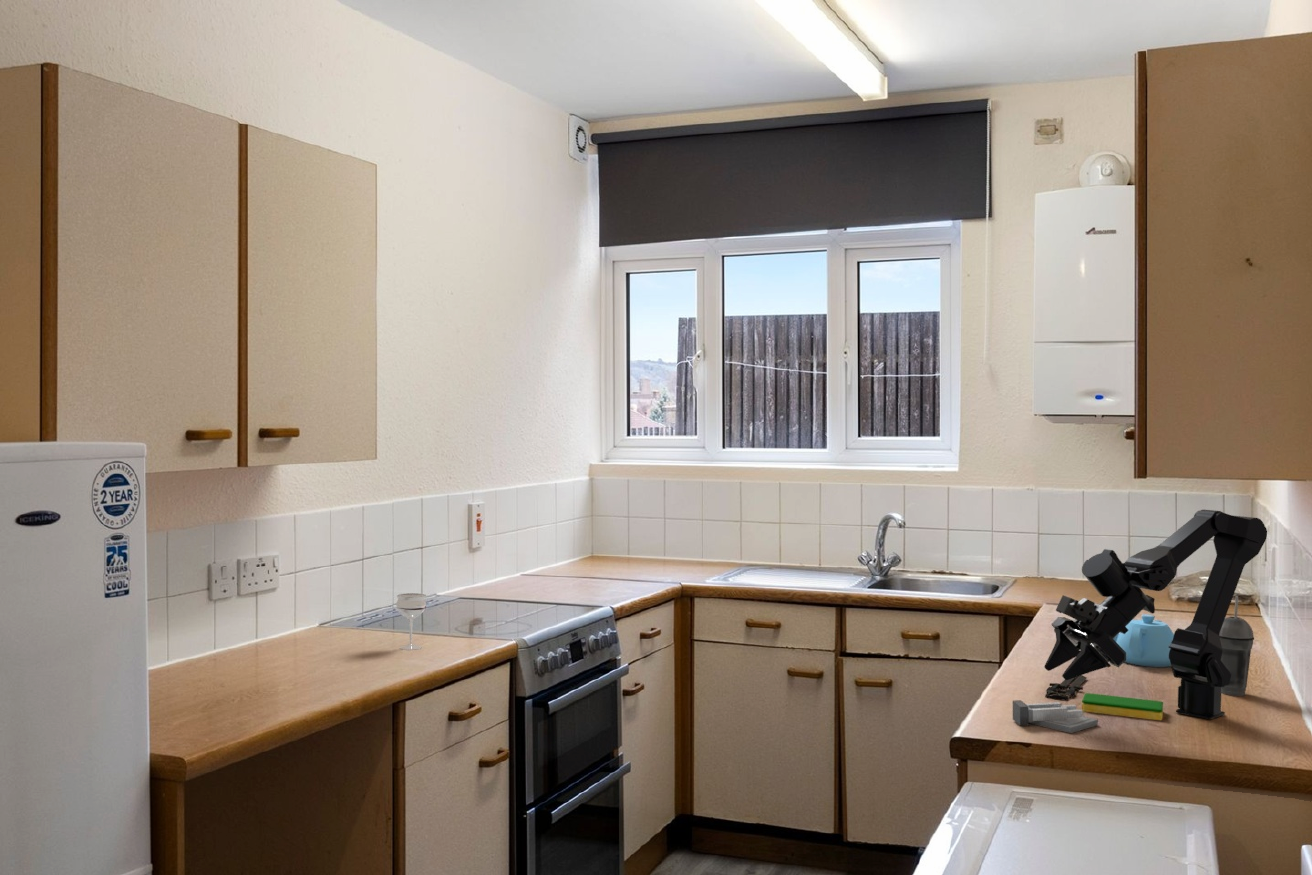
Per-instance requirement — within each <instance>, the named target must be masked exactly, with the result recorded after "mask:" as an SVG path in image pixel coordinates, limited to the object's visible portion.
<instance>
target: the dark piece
mask: <svg viewBox="0 0 1312 875" xmlns="http://www.w3.org/2000/svg"><path fill="white" fill-rule="evenodd" d="M1086 679H1087V677H1086V676H1084V674H1083V675H1080V676H1078V677H1075V678H1072V679H1069V680H1065V679H1064V678H1063V680H1062V681H1061V682H1060V683H1057V682H1050V683H1049V686H1048V687H1047V689H1046V690H1045V692H1046V694H1045V695H1044V696H1045V698H1046V699H1052V700H1060V701H1068V700H1069V695H1070V698H1071V699H1073V698H1074V697H1075V696H1076V693H1083V689H1084V687H1082V686H1081V685H1082V684H1083V683H1084V682H1085V681H1086ZM1067 687H1068V688H1067Z"/></svg>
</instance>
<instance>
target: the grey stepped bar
mask: <svg viewBox="0 0 1312 875" xmlns="http://www.w3.org/2000/svg"><path fill="white" fill-rule="evenodd" d="M1083 716H1084V711H1082V708H1081V709H1078V708H1077V705H1076V704H1062V702H1059V701H1057V702H1055V701H1054V702H1039V703H1038V702H1036V703H1035V702H1034V703H1026V702H1024V701H1022V700H1020V699H1017V700H1012V720H1013V721H1014V723H1016V724H1017V725H1018V726H1019V727H1026V726H1027V727H1028V726H1029V723H1028V722H1033V721H1045V720H1063V719H1068V718H1080V717H1083Z"/></svg>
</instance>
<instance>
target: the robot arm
mask: <svg viewBox="0 0 1312 875" xmlns="http://www.w3.org/2000/svg"><path fill="white" fill-rule="evenodd" d="M1267 537H1268V530H1267V527H1266V526H1265V523H1264V522H1263V520H1261V519H1260V518H1259V517H1251V516H1244V515H1243V516H1241V515H1232V514H1228V513H1225V512H1223V511H1221V510H1216V509H1215V510H1214V509H1200V510H1197V511H1196V512H1195V513H1194V514H1193V516H1192V518H1191V519H1190V520H1188V521H1187V522H1186V523H1185V524H1183V525H1182V526H1181V527H1179V528H1178V529H1177V530H1176V531H1174V533H1172V534H1170V536H1169V537H1167V538H1166V539H1165V540H1163V541H1162V542H1161V543H1160V544H1158V545H1157V546H1154V547H1152V548H1149V549H1144V550H1142V551H1139V552H1137V553H1136V554H1133V555H1131V556H1129V557H1128V558H1127V559H1126V560H1125V561H1124V562H1122V561H1121V559H1120V558H1119V557H1118V555H1117V553H1116V552H1115V551H1114V549H1108V548H1104V549H1103V550H1102V551H1101V553H1098V554H1097V553H1096V554H1095V555H1092V556H1091V557H1090V558H1089V559H1086V560H1085V561H1084V563H1083V564H1082V566H1081V572H1082V574H1083V576H1084V577H1085V578H1086V579H1087V581H1088V583H1090V584H1091V585H1092V587H1093V588H1094V589H1095V590H1096V592H1097V593H1098V594H1099V595H1100V596H1101V597H1104V598H1105V599H1104V600H1103V601H1101V603H1100V604H1098V603H1096V602H1094V601H1092V600H1090V599H1088V598H1085V597H1083V598H1081V599H1080V600H1077V599H1074V598H1072V597H1070V596H1066V595H1063V594H1062V596H1061V598H1060V600H1059V602H1058V604H1057V605H1056V606H1057V607H1056V608H1055V612H1057V613H1060V614H1064V615H1066V616H1067V617H1065V616H1060V617H1059V616H1058V617H1056V619H1055V620H1054V621H1053V622H1051V623H1050V624H1051V627H1053V629H1054V630H1053V632H1054V634H1055V639H1056V640H1055V643H1054V646H1053V648H1052V650H1051V652H1050V654H1049V656H1048V658H1047V660H1046V663H1045V664H1044V666H1043V667H1044V669H1045V670H1047V671H1048V672H1050V671H1052V670H1054V669H1056V668H1057V667H1060V666H1062V665H1064V664H1065V663H1067V662H1069V661H1071V660H1072V659H1073V660H1072V661H1071V663H1070V664H1069V666H1068V667H1067V668H1066V669H1065V671H1064V672H1063V673H1062V675H1061V677H1062V678H1063V680H1064V679H1065V680H1069V679H1072V678H1075V677H1076V678H1078V677H1079V676H1080V675H1083V676H1084V675H1086V674H1088V673H1091V672H1095V671H1098V670H1101V669H1105V668H1110V667H1112V666H1111V665H1113V666H1115V667H1116V668H1120V667H1121V666H1122V665H1123V664H1124V663H1125V662H1124V661H1125V660H1126V652H1125V651H1124V650H1123V649H1122V648H1121V647H1120V646H1119V645H1118V644H1117V642H1116V641H1115V640H1114V638H1115V637H1116V636H1117V635H1118V634H1120V633H1123V634H1125V633H1126V632H1127V631H1128V629H1127V628H1126V626H1127V625H1128V624H1129V623H1130V622H1131V621H1132V620H1135V618H1136V617H1137V615H1139V614H1140V613H1141V612H1142V611H1143V610H1144V611H1146V612H1148V613H1150V614H1151V615H1153V614H1155V612H1156V608H1155V597H1152V596H1151V595H1148V594H1145V592H1143V590H1149V591H1154V592H1155V591H1156V592H1161V591H1164V590H1165V589H1166V588H1167V587H1168V585H1170V583H1171V582H1173V580H1174V579H1175V577H1177V569H1178V567H1179V566H1180V565H1181V564H1182V563H1183V562H1184V561H1186V560H1187V559H1188V558H1190V557H1191V556H1192V555H1193V554H1194V553H1195V552H1196V551H1197V550H1199V549H1201V548H1202V547H1203V546H1204V545H1205V544H1206V543H1208V542H1209V541H1210V540H1211V539H1212V538H1213V540H1212V541H1213V545H1214V549H1215V553H1216V557H1215V559H1214V562H1213V565H1212V568H1211V571H1210V573H1209V576H1208V578H1207V581H1206V584H1205V586H1204V590H1203V591H1202V595H1201V597H1200V598H1199V599H1200V600H1199V602H1198V605H1197V608H1196V610H1195V612H1194V616H1193V619H1192V621H1191V623H1190V624H1189V625H1188V626H1187V627H1186V628H1184V629H1183V628H1178V627H1177V628H1176V629H1175V630H1174V632H1173V634H1174V637H1173V640H1172V642H1171V644H1170V645H1169V648H1171V649H1170V651H1169V659H1170V663H1171V666H1170V667H1171V669H1172V674H1173V677H1174V678H1176V679H1177V678H1179V679H1180V685H1178V687H1177V691H1178V692H1177V709H1175V713H1177V714H1181V715H1186V716H1192V717H1197V718H1201V719H1206V720H1213V719H1215V718H1216V719H1217V718H1219V717H1223V716H1225V714H1226V712H1225V711H1222V693H1221V687H1224V686H1227V685H1229V682H1230V679H1231V673H1230V672H1229V671H1228V669H1227V668H1226V667H1225V665H1224V664H1223V663H1222V661H1221V656H1222V652H1223V649H1222V645H1221V641H1220V637H1219V633H1220V630H1221V628H1222V625H1223V622H1224V620H1225V618H1227V614H1228V612H1229V611H1228V610H1229V608H1230V606H1231V602H1232V600H1233V597H1234V596H1235V592H1236V589H1237V587H1238V584H1239V581H1240V578H1241V576H1242V573H1243V571H1244V569H1245V566H1246V564H1247V563H1249V562H1250V561H1251V560H1253V559H1254V558H1255V557H1256V556H1258V555H1259V554H1260V552H1261V550H1262V548H1263V546H1264V544H1265V542H1266V540H1267ZM1068 617H1070V618H1072V619H1069V618H1068ZM1073 619H1074V620H1073ZM1076 678H1075V679H1076Z"/></svg>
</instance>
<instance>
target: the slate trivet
mask: <svg viewBox="0 0 1312 875" xmlns="http://www.w3.org/2000/svg"><path fill="white" fill-rule="evenodd" d="M1098 722H1099V720H1098V719H1096V718H1092V717H1088V716H1084V715H1083V717H1080V718H1068V719H1063V720H1045V721H1033V722H1028V724H1031V725H1036V726H1040V727H1042V728H1043V727H1045V728H1047V729H1050V730H1051V729H1052V730H1056V731H1061V732H1063V733H1069V734H1072V733H1077V732H1079V731H1082V730H1086V729H1089V728H1092V727H1096V726H1099V723H1098Z"/></svg>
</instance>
